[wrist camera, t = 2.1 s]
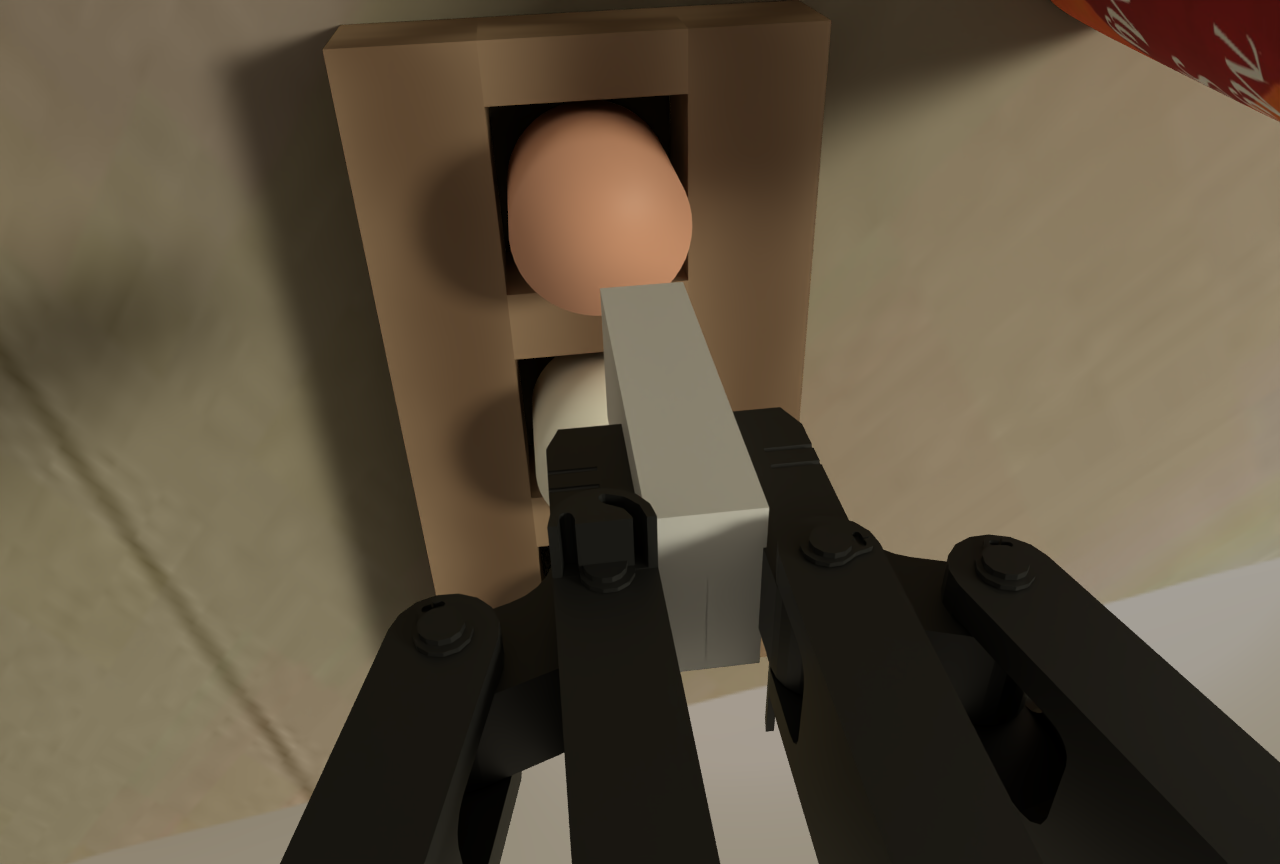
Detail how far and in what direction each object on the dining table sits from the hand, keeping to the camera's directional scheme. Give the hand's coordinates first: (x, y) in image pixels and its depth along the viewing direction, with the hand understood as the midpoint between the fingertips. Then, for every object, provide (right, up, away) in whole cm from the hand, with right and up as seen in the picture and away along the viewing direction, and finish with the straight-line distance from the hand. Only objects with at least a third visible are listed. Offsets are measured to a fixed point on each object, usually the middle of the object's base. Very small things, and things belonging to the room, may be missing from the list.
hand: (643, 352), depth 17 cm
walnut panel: (-1, 0, +13) cm, 13 cm away
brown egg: (-1, +5, +8) cm, 10 cm away
